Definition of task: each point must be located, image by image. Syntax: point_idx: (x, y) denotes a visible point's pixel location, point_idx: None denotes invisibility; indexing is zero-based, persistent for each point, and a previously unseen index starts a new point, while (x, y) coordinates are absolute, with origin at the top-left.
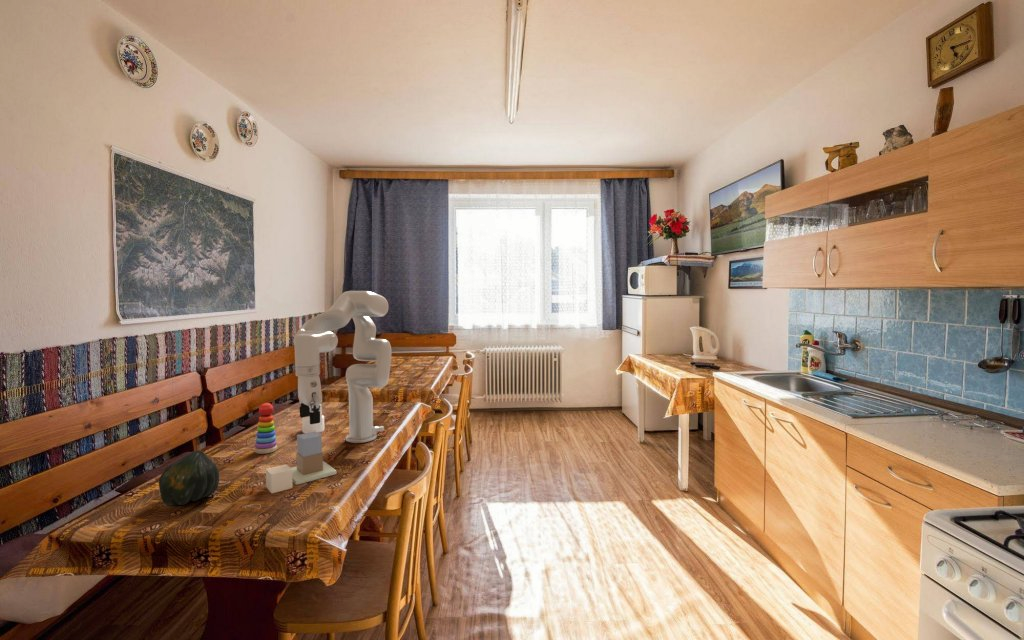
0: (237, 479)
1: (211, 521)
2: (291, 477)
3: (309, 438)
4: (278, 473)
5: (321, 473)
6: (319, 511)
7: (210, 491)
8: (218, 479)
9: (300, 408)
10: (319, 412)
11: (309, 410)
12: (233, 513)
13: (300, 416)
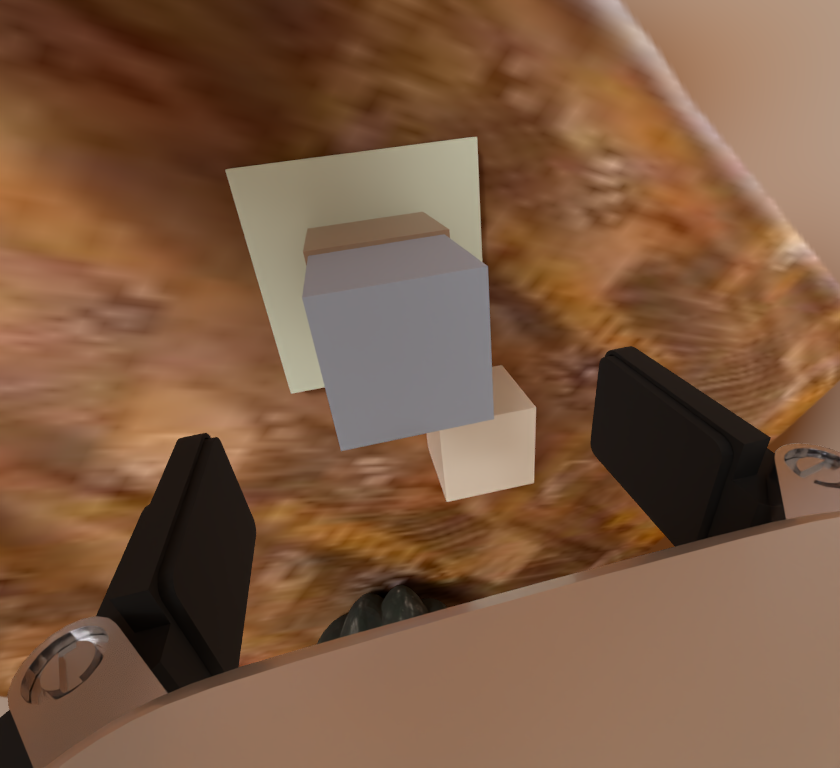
0: (277, 535)
1: (582, 555)
2: (519, 390)
3: (489, 370)
4: (534, 456)
5: (467, 230)
6: (771, 305)
7: (440, 602)
8: (416, 614)
9: (230, 659)
10: (742, 427)
11: (200, 498)
12: (575, 519)
13: (248, 544)
